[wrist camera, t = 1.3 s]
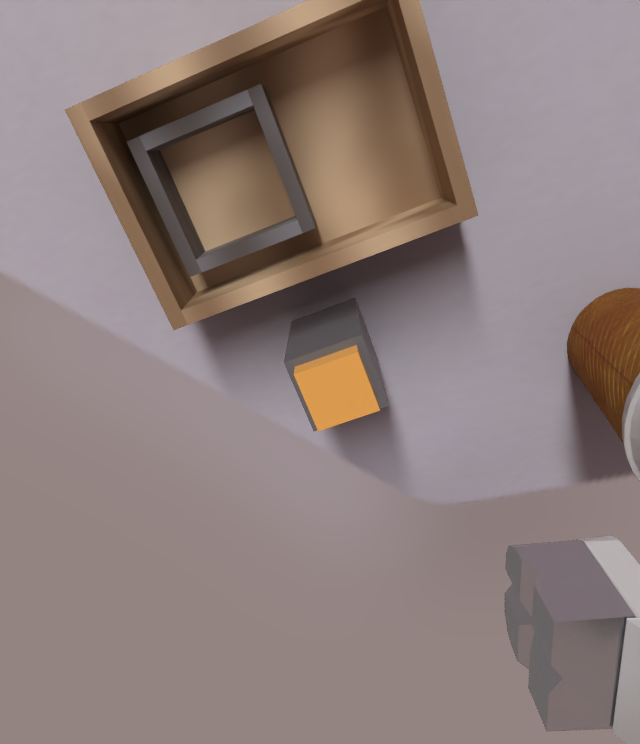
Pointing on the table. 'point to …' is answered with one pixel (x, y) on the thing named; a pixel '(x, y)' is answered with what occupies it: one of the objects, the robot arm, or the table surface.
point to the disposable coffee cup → (612, 362)
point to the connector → (334, 366)
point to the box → (279, 153)
